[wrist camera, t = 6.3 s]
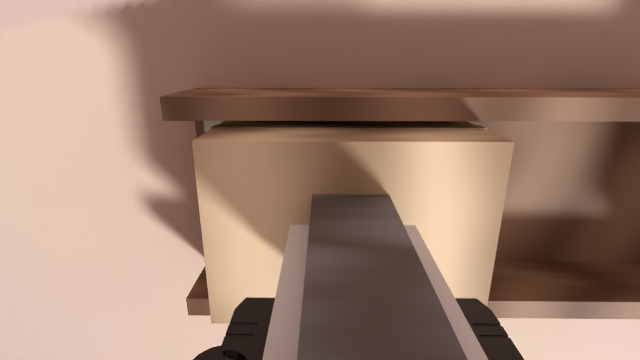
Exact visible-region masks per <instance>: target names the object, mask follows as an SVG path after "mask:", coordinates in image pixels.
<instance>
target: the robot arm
mask: <svg viewBox="0 0 640 360" xmlns="http://www.w3.org/2000/svg"><path fill="white" fill-rule="evenodd" d="M404 227H405V229H406V231H407V233H408V235H409V237H410V239H411V241H412V244H413V246H414V248H415V250H416V252H417V254H418V256H419V258H420V260H421V263H422V265H423V267H424V269H425V271H426V273H427V275H428V277H429V279H430V281H431V284H432V286H433V288H434V290H435V292H436V294H437V296H438V298H439V300H440V303H441V305H442V307H443V309H444V311H445V313H446V315H447V317H448V319H449V322H450V324H451V326H452V328H453V330H454V332H455V334H456V336H457V338H458V340H459V343H460V345H461V347H462V349H463V351H464V353H465V355H466V357H467V359H468V360H524V359H523V357H522V356H521V354H520V353H519V351H518V350H517V348H516V347H515V345H514V344H513V342H512V340H511V339H510V338H508V334H507V333H506V331H505V330H504V328H503V327H502V326H501V325H500V322H499V321H498V319H497V318H496V316H495V315H494V313H493V312H492V310H491V309H489V308H488V307H487V306H486V305H484V304H483V303H482V302H480V301H479V300H478V299H477V298H455V297H454V296H453V294H452V292H451V290H450V288H449V286H448V284H447V283H446V281H445V279H444V277H443V275H442V273H441V272H440V270H439V268H438V266H437V264H436V262H435V260H434V259H433V257H432V255H431V253H430V251H429V249H428V248H427V246H426V244H425V242H424V240H423V238H422V236H421V235H420V233H419V231H418V229H417V227H416V225H404ZM308 235H309V225H290V228H289V233H288V238H287V243H286V248H285V253H284V257H283V262H282V267H281V272H280V277H279V281H278V286H277V291H276V296H275V298H251V297H246V298H245V299H244V300H243V301H242V302H241V303H240V304H239V305H238V306H237V307H236V308H235V310H234V312H233V315H232V318H231V321H230V325H229V326H228V329H227V332H226V337H224V340H223V343H222V345H221V346H217V347H213V348H210V349H208V350H206V351H204V352H202V353H200V354H199V355H198V356H197V357H195V358H194V359H193V360H297V354H298V343H299V332H300V321H301V311H302V300H303V289H304V278H305V267H306V257H307V246H308Z"/></svg>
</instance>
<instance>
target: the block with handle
mask: <svg viewBox="0 0 640 360" xmlns="http://www.w3.org/2000/svg"><path fill="white" fill-rule="evenodd" d="M513 148H514V142H513V141H511V140H509V139H506V138H504V137H502V136H500V135H497V134H495V133H493V132H490V131H488V130H487V128H485V127H483V126H481V125H474V124H472V123H470V122H468V121H223V122H222V123H220V124H215V125H214V126H212V127H211V129H210V130H209V131H207V132H205V133H204V134H202V135H201V136H199V137H197V138H196V139H194V140H193V141H192V149H193V158H194V168H195V177H196V186H197V195H198V204H199V214H200V223H201V232H202V241H203V250H204V259H205V269H206V278H207V287H208V296H209V305H210V315H211V323H230V321H231V318H232V315H233V312H234V310H235V308H236V307H237V306H238V305H239V304H240V303H241V302H242V301H243V300H244V299H245V298H246V297H251V298H275V296H276V291H277V286H278V281H279V277H280V272H281V267H282V262H283V257H284V253H285V248H286V243H287V238H288V233H289V228H290V225H309V235H308V246H307V257H306V267H305V278H304V289H303V300H302V311H301V321H300V332H299V343H298V354H297V360H468V359H467V357H466V355H465V353H464V351H463V349H462V347H461V345H460V343H459V340H458V338H457V336H456V334H455V332H454V330H453V328H452V326H451V324H450V322H449V319H448V317H447V315H446V313H445V311H444V309H443V307H442V305H441V303H440V300H439V298H438V296H437V294H436V292H435V290H434V288H433V286H432V284H431V281H430V279H429V277H428V275H427V273H426V271H425V269H424V267H423V265H422V263H421V260H420V258H419V256H418V254H417V252H416V250H415V248H414V246H413V244H412V241H411V239H410V237H409V235H408V233H407V231H406V229H405V227H404V225H416V227H417V229H418V231H419V233H420V235H421V236H422V238H423V240H424V242H425V244H426V246H427V248H428V249H429V251H430V253H431V255H432V257H433V259H434V260H435V262H436V264H437V266H438V268H439V270H440V272H441V273H442V275H443V277H444V279H445V281H446V283H447V284H448V286H449V288H450V290H451V292H452V294H453V296H454V297H455V298H477V299H478V300H479V301H480V302H482V303H483V304H484V305H486V306H487V304H488V298H489V292H490V286H491V280H492V274H493V268H494V262H495V256H496V250H497V244H498V238H499V232H500V226H501V220H502V214H503V208H504V202H505V196H506V190H507V184H508V178H509V172H510V166H511V160H512V154H513Z"/></svg>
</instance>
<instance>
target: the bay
mask: <svg viewBox="0 0 640 360" xmlns="http://www.w3.org/2000/svg"><path fill="white" fill-rule="evenodd" d="M160 102H161V110H162V117H163V120H164V121H195V123H196V132H197V137H199V136H201V135H202V134H204V133H205V132H207V131H209V130H210V129H211V127H212V126H214V125H215V124H220V123H222V122H223V121H468V122H470V123H472V124H474V125H481V126H483V127H485V128H487V130H488V131H490V132H493V133H495V134H497V135H500V136H502V137H504V138H506V139H509V140H511V141H513V142H514V148H513V154H512V160H511V166H510V172H509V178H508V184H507V190H506V196H505V202H504V208H503V214H502V220H501V226H500V232H499V238H498V244H497V250H496V256H495V262H494V268H493V274H492V280H491V286H490V292H489V298H488V304H487V307H488V308H489V309H491V310H492V312H493V313H494V315H495V316H496V318H577V319H640V89H411V88H196V89H191V90H187V91H183V92H178V93H174V94H170V95H165V96H161V97H160ZM186 301H187V308H188V315H210V305H209V296H208V287H207V278H206V269H205V267H204V269H203V270H202V272H201V274H200V276H199V277H198V279H197V281H196V283H195V284H194V286H193V288H192V289H191V291H190V293H189V295H188V296H187V298H186Z"/></svg>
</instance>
